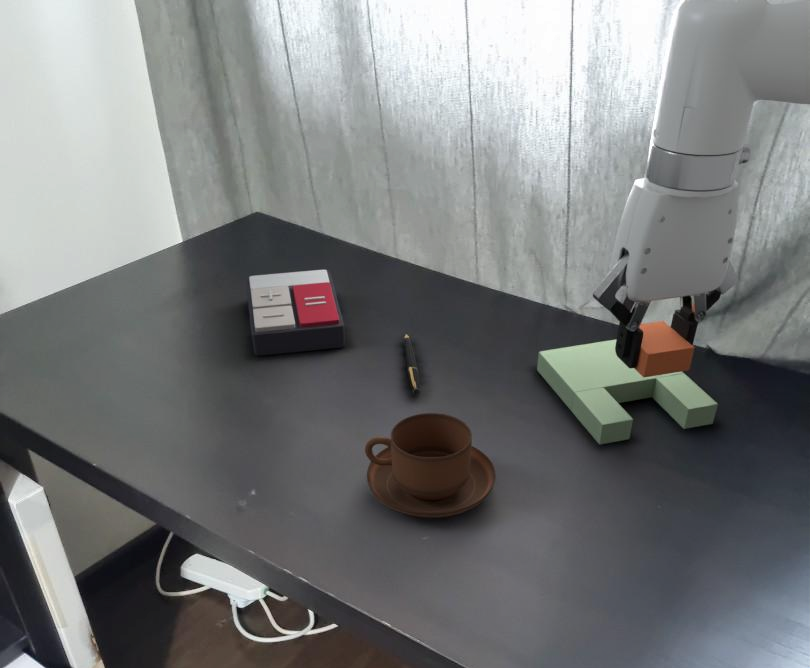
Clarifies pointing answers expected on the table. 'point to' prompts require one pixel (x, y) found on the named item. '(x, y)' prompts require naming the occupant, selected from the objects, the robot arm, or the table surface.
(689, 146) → the robot arm
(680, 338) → the orange block
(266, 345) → the calculator
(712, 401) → the base pad
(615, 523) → the table surface
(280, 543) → the table surface
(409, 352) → the fountain pen
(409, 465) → the cup and saucer
